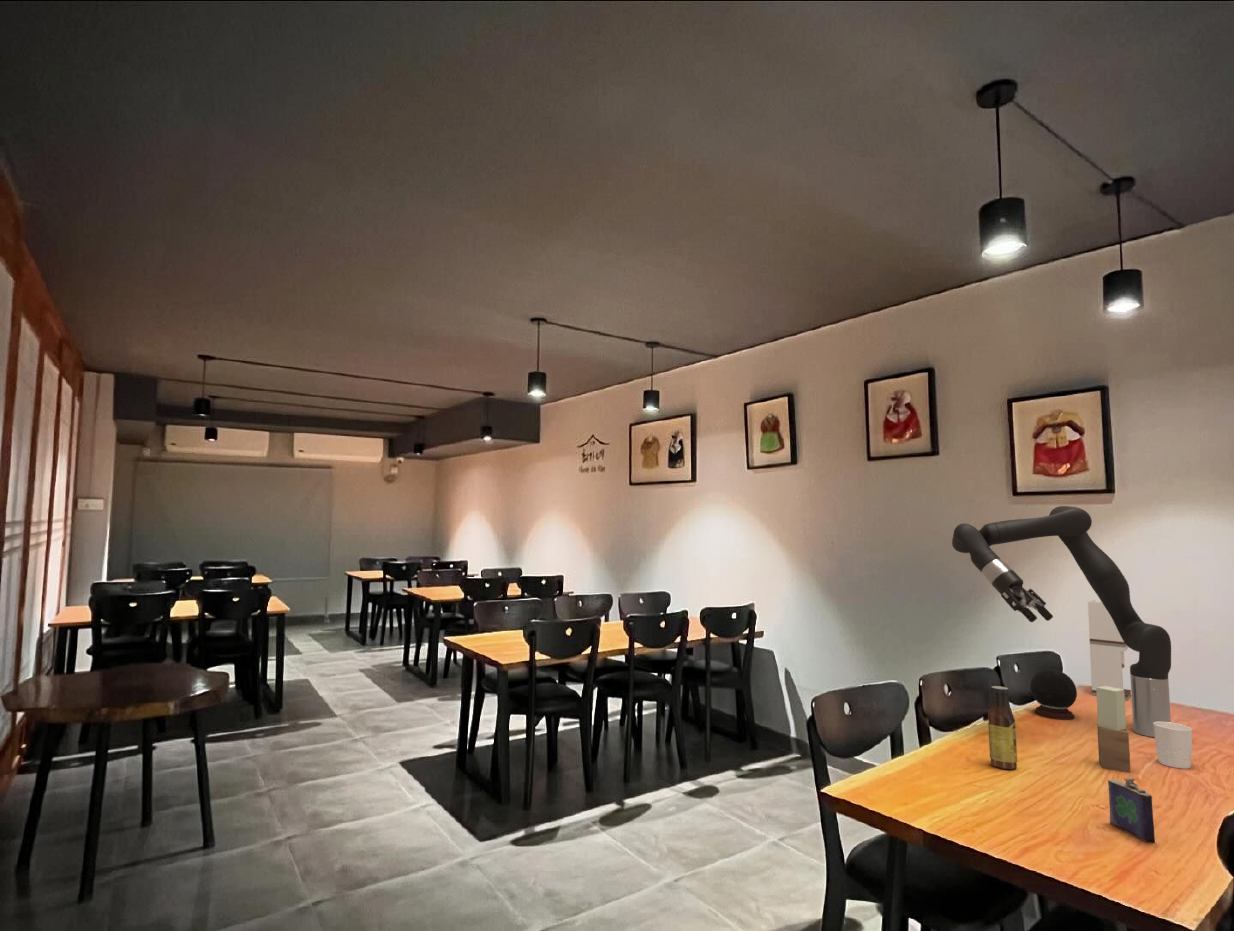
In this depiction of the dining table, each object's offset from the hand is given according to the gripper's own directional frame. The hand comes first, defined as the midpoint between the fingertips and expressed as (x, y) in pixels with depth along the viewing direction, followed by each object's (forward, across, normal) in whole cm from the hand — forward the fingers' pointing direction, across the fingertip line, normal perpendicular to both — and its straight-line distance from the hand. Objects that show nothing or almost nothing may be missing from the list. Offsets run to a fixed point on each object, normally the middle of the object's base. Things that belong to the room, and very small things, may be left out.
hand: (1042, 619), depth 194 cm
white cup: (+43, +14, +8) cm, 46 cm away
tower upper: (+34, -3, +9) cm, 36 cm away
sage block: (+31, -3, +5) cm, 31 cm away
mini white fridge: (+10, +87, +40) cm, 96 cm away
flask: (+53, -44, -2) cm, 69 cm away
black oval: (+14, +36, +37) cm, 53 cm away
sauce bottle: (+28, -29, +22) cm, 46 cm away
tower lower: (+38, -3, +12) cm, 40 cm away
